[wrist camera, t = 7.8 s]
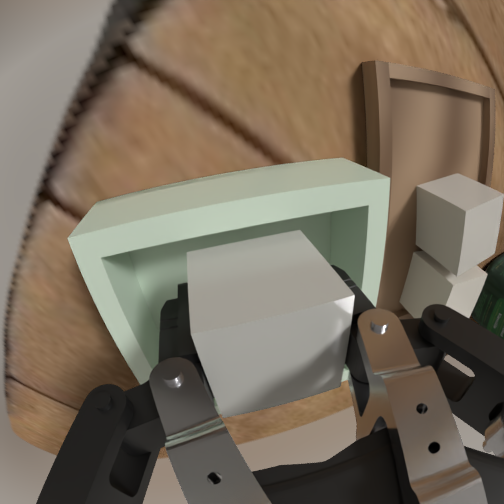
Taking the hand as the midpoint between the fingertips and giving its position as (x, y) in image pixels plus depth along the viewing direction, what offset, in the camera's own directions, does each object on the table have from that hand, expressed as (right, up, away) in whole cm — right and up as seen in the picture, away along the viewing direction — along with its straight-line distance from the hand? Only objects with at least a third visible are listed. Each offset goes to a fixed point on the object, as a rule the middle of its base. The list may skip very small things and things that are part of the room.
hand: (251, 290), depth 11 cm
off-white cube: (0, 0, 0) cm, 0 cm away
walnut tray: (+12, +5, +5) cm, 14 cm away
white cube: (+12, 0, +7) cm, 14 cm away
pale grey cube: (+12, +4, +5) cm, 13 cm away
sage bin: (-1, 0, +5) cm, 5 cm away
